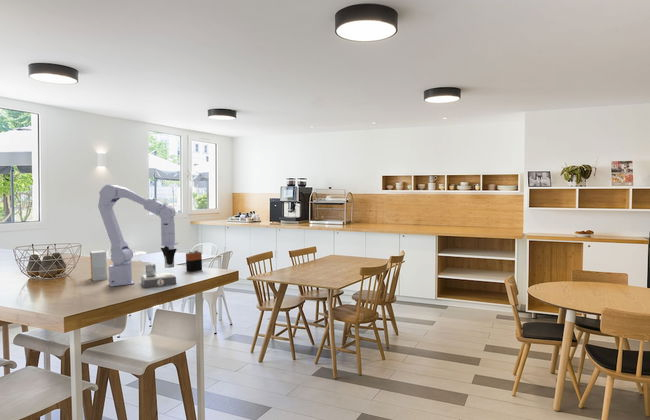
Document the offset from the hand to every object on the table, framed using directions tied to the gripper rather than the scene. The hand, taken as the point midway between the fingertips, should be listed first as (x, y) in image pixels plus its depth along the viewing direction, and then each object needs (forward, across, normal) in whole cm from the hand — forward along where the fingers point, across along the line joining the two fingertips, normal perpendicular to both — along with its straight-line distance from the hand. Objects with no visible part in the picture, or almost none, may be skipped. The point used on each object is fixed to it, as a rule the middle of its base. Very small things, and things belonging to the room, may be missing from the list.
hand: (169, 263), depth 199 cm
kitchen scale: (+8, 0, +5) cm, 10 cm away
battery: (+8, +22, -16) cm, 29 cm away
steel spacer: (+2, 0, 0) cm, 2 cm away
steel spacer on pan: (+5, 0, +8) cm, 9 cm away
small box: (+9, +29, +27) cm, 40 cm away
